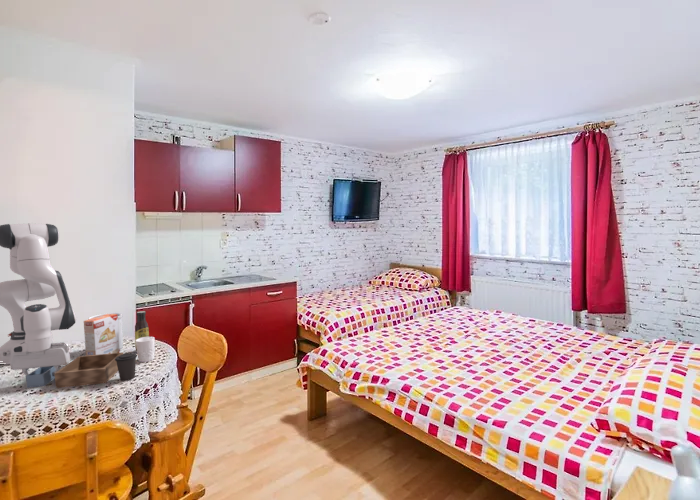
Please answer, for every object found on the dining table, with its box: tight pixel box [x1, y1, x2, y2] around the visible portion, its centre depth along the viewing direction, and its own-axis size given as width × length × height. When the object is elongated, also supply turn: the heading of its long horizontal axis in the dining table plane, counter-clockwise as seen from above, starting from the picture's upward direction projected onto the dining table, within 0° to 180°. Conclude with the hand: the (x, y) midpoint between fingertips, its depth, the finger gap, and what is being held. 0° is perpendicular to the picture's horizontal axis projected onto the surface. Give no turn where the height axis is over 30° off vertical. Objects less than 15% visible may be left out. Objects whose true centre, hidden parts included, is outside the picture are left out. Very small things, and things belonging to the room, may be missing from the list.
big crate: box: [54, 352, 124, 389], centre depth 164 cm, size 18×20×6 cm
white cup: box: [135, 336, 156, 363], centre depth 182 cm, size 8×8×10 cm
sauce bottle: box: [134, 310, 150, 353], centre depth 195 cm, size 7×6×20 cm
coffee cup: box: [115, 352, 138, 382], centre depth 160 cm, size 8×8×10 cm
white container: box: [87, 312, 124, 350], centre depth 199 cm, size 15×15×18 cm
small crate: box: [25, 366, 56, 388], centre depth 159 cm, size 6×10×5 cm, turn 12°
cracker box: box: [83, 313, 121, 356], centre depth 182 cm, size 14×6×21 cm, turn 168°
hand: (42, 377), depth 159 cm, fingers open, 8 cm apart
